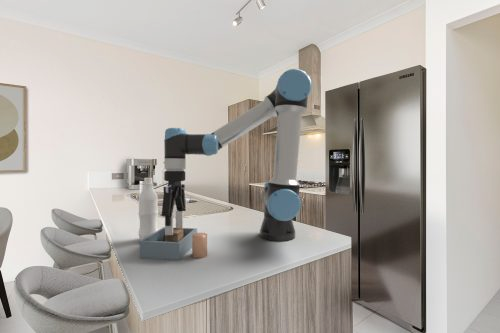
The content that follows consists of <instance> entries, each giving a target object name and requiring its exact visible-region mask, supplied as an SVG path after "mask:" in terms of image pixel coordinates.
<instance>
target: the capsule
mask: <svg viewBox="0 0 500 333" xmlns="http://www.w3.org/2000/svg"><path fill="white" fill-rule="evenodd" d="M191 252H192V253H191V256H192V258H193V257H194V258H193V259H204V258H206V257H207V256H208V234H207V233H206V232H197V233H195V234H193V235H192V248H191Z"/></svg>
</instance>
